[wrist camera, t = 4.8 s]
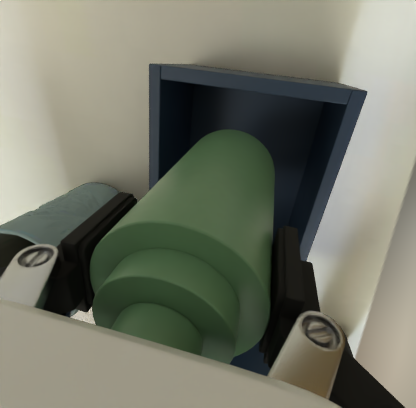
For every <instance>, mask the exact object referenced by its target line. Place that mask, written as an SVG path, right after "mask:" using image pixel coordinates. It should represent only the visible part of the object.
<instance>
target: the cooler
mask: <svg viewBox="0 0 416 408" xmlns="http://www.w3.org/2000/svg"><path fill="white" fill-rule="evenodd" d="M366 95H367V91H365V90H361V89H358V88H354V87H351V86H347V85H344V84H340V83H335V82H327V81H319V80H311V79H303V78H294V77H286V76H278V75H270V74H262V73H254V72H246V71H238V70H230V69H222V68H214V67H206V66H198V65H190V64H149V191H150V190H151V189H152V188H153V187H154V186H155V185H156V183H157V182H158V181H159V180H160V179H161V178H162V177H163V176H164V175H165V174H166V173H167V172H168V171H169V170H170V169H171V168H172V167H173V166H174V165H175V164H176V163H177V162H178V161H179V160H180V159H181V158H182V157H183V156H184V155H185V154H186V153H187V152H188V151H189V150H190V149H191V148H192V147H193V146H194V145H195V144H196V143H197V142H198V141H199V140H200V139H201V138H203V137H204V136H206V135H208V134H210V133H212V132H215V131H219V130H227V129H231V130H238V131H242V132H245V133H248V134H250V135H252V136H253V137H255V138H256V139H258V140H259V141H260V142H261V143H262V144H263V145H264V146H265V147H266V149H267V150H268V152H269V153H270V155H271V157H272V160H273V163H274V169H275V184H274V216H273V243H274V240H275V236H276V233H277V229H278V228H283V226H289V227H294V228H297V230H298V239H299V248H300V257H301V260H302V261H306V260H307V257H308V254H309V252H310V249H311V246H312V243H313V241H314V238H315V235H316V232H317V230H318V227H319V224H320V221H321V219H322V216H323V213H324V210H325V208H326V205H327V202H328V199H329V197H330V194H331V191H332V188H333V186H334V183H335V180H336V177H337V175H338V172H339V169H340V166H341V164H342V161H343V158H344V155H345V153H346V150H347V147H348V144H349V142H350V139H351V136H352V133H353V131H354V128H355V125H356V122H357V120H358V117H359V114H360V111H361V109H362V106H363V103H364V100H365V98H366Z"/></svg>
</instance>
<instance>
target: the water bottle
mask: <svg viewBox="0 0 416 408" xmlns="http://www.w3.org/2000/svg"><path fill="white" fill-rule="evenodd" d="M274 184H275V169H274V163H273V160H272V157H271V155H270V153H269V152H268V150H267V149H266V147H265V146H264V145H263V144H262V143H261V142H260V141H259V140H258V139H256V138H255V137H253V136H252V135H250V134H248V133H245V132H242V131H238V130H231V129H227V130H219V131H215V132H212V133H210V134H208V135H206V136H204V137H203V138H201V139H200V140H199V141H198V142H197V143H196V144H195V145H194V146H193V147H192V148H191V149H190V150H189V151H188V152H187V153H186V154H185V155H184V156H183V157H182V158H181V159H180V160H179V161H178V162H177V163H176V164H175V165H174V166H173V167H172V168H171V169H170V170H169V171H168V172H167V173H166V174H165V175H164V176H163V177H162V178H161V179H160V180H159V181H158V182H157V183H156V185H155V186H154V187H153V188H152V189H151V190H150V191H149V192H148V193H147V194H146V195H145V196H144V197H143V198H142V199H141V200H140V201H139V202H138V203H137V204H136V205H135V206H134V207H133V208H132V209H131V210H130V211H129V212H128V213H127V214H126V215H125V216H124V217H123V218H122V219H121V220H120V221H119V222H118V223H117V224H116V225H115V226H114V227H113V228H112V229H111V230H110V231H109V232H108V233H107V234H106V235H105V236H104V237H103V238H102V239H101V240H100V242H99V243H98V244H97V246H96V248H95V250H94V252H93V254H92V258H91V261H90V270H89V271H90V281H91V285H92V288H93V291H94V293H95V296H94V299H93V305H92V312H93V317H94V321H95V323H96V325H97V326H101V327H104V328H108V329H111V330H115V331H118V332H121V333H125V334H128V335H132V336H135V337H138V338H142V339H145V340H149V341H152V342H155V343H159V344H162V345H166V346H169V347H172V348H176V349H179V350H182V351H186V352H189V353H192V354H196V355H199V356H202V357H206V358H209V359H212V360H216V361H219V362H222V363H226V364H230V362H231V361H232V359H233V357H235V356H238V355H240V354H242V353H244V352H246V351H248V350H249V349H251V348H252V347H253V346H255V345H256V344H257V343H258V342H259V341H260V339H261V338H262V336H263V335H264V333H265V331H266V329H267V327H268V323H269V320H270V310H271V279H272V247H273V216H274Z"/></svg>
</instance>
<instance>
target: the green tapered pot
mask: <svg viewBox="0 0 416 408" xmlns="http://www.w3.org/2000/svg"><path fill="white" fill-rule="evenodd" d="M118 193H119V192H118V191H117V190H116V189H115V188H111V187H110V186H108V185H106V184H102V183H86V184H83V185H81V186H79V187H77V188H75V189H73V190H71V191H69V192H68V193H67V194H65V195H63V196H60V197H58V198H56V199H54V200H52V201H50V202H48V203H46V204H44V205H42V206H40V207H39V209H36V210H35V211H29V212H27V213H25V214H23V215H21V216H19V217H17V218H15V219H13V220H11V221H9V222H7V223H5V224H3V225H1V226H0V268H1V267H5V266H8V265H9V264H10V262H11V261H12V259H13V258H14V256H15V255H16V254H17V253H18V252H20V251H21V250H23V249H25V248H27V247H30V246H33V245H38V244H50V245H53V246H55V247H57V246H58V245H59V244H60V243H61V242H60V241H61V240H62V239H63V238H65V237H66V236H67V235H68V234H70V233H71V232H72V231H73V230H74V229H76V228H77V227H78V226H79V225H80V224H82V223H83V222H84V221H85V220H86V219H88V218H89V217H90V216H91V215H92V214H94V213H95V212H96V211H97V210H98V209H100V208H101V207H102V206H103V205H105V204H106V203H107V202H108V201H109V200H111V199H112V198H113V197H114V196H115V195H117V194H118ZM77 312H78V310H77V309H75V310H73V311H71V316H73V315H74V314H76V313H77ZM71 316H70V317H71Z"/></svg>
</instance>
